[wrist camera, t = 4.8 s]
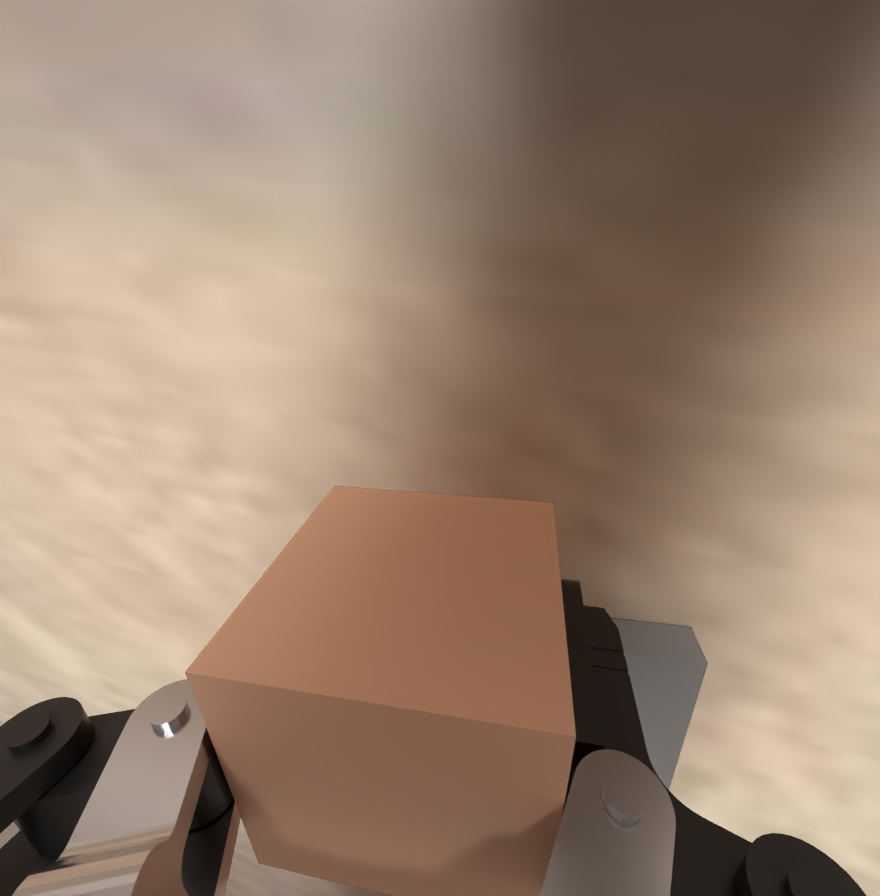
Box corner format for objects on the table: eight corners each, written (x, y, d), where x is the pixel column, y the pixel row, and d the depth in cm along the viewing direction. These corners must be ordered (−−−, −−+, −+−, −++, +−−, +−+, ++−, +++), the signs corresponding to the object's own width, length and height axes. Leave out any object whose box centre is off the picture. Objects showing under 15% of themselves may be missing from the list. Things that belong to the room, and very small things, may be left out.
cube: (334, 486, 10) (185, 672, 6) (553, 502, 9) (576, 736, 5) (355, 639, 12) (258, 863, 8) (536, 664, 11) (541, 931, 7)
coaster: (411, 596, 17) (402, 625, 16) (691, 627, 15) (707, 663, 14) (421, 759, 21) (414, 794, 19) (644, 799, 19) (653, 840, 18)
